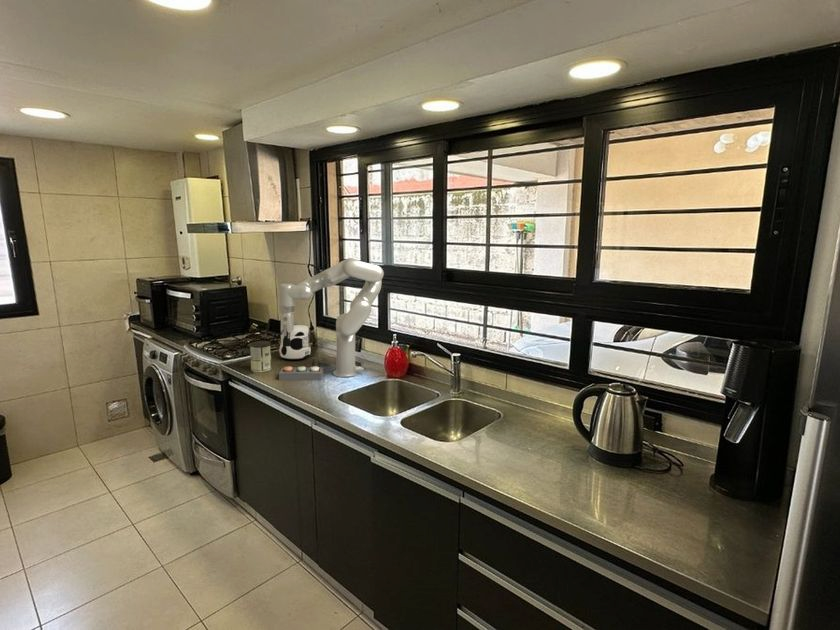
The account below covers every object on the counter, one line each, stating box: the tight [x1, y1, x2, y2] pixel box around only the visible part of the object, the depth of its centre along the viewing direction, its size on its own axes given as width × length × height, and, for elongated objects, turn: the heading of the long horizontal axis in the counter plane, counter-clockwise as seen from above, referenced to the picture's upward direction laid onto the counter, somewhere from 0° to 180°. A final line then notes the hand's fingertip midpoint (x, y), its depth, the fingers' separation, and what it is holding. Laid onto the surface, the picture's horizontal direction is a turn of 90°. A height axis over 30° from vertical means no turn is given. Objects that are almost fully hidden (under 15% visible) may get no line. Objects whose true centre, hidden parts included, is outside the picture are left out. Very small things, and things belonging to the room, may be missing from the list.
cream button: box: [310, 365, 319, 372], centre depth 217 cm, size 4×4×2 cm
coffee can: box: [249, 340, 272, 373], centre depth 225 cm, size 10×10×14 cm
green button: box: [296, 365, 306, 372], centre depth 216 cm, size 4×4×2 cm
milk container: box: [278, 324, 312, 361], centre depth 248 cm, size 17×17×18 cm
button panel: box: [278, 366, 324, 381], centre depth 216 cm, size 20×10×4 cm, turn 97°
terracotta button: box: [283, 365, 293, 372], centre depth 215 cm, size 4×4×2 cm
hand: (286, 345), depth 213 cm, fingers closed
